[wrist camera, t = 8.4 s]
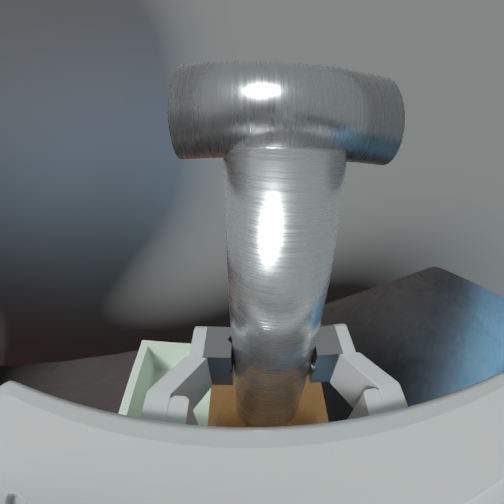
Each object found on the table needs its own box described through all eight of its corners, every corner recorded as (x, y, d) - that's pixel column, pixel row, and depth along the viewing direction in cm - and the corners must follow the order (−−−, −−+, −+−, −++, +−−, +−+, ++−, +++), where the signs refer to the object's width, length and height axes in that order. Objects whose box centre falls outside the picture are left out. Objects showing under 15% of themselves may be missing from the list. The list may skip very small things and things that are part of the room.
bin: (133, 445, 25) (114, 426, 22) (153, 367, 36) (142, 339, 33) (241, 458, 25) (240, 442, 22) (243, 372, 36) (242, 345, 33)
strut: (220, 483, 13) (119, 48, 3) (224, 417, 18) (191, 77, 8) (305, 480, 13) (463, 78, 3) (298, 416, 18) (356, 83, 8)
